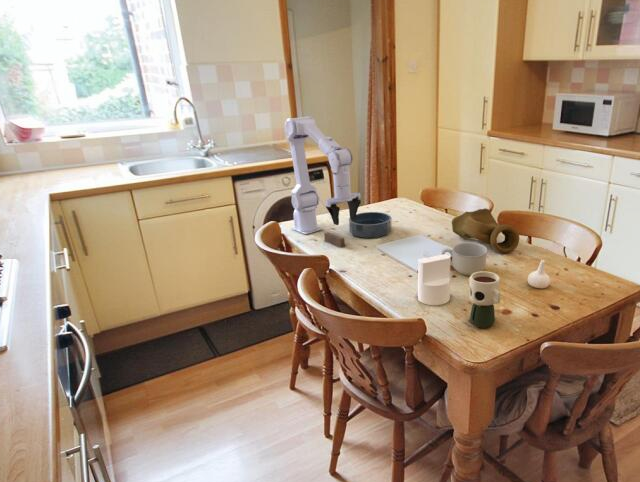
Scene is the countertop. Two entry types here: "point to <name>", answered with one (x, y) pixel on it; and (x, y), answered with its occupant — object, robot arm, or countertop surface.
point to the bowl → (370, 224)
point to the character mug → (484, 297)
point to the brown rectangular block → (334, 239)
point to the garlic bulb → (539, 277)
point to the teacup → (467, 257)
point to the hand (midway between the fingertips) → (344, 221)
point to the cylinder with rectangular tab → (434, 280)
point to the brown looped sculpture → (485, 230)
